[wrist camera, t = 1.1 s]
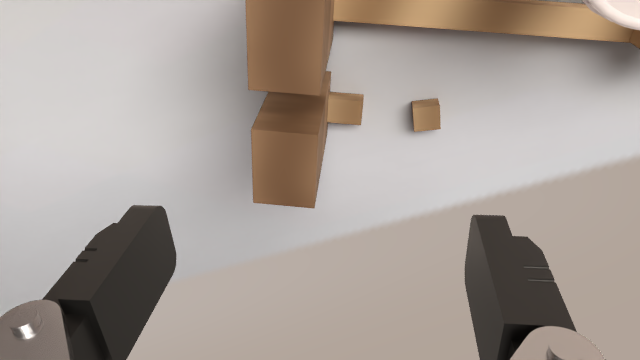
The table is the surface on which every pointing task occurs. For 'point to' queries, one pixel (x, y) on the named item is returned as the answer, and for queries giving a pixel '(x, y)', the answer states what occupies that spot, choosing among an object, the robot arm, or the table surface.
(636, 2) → the smoothie
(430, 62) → the table surface
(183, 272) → the table surface
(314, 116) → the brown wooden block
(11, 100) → the table surface
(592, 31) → the wooden mallet
